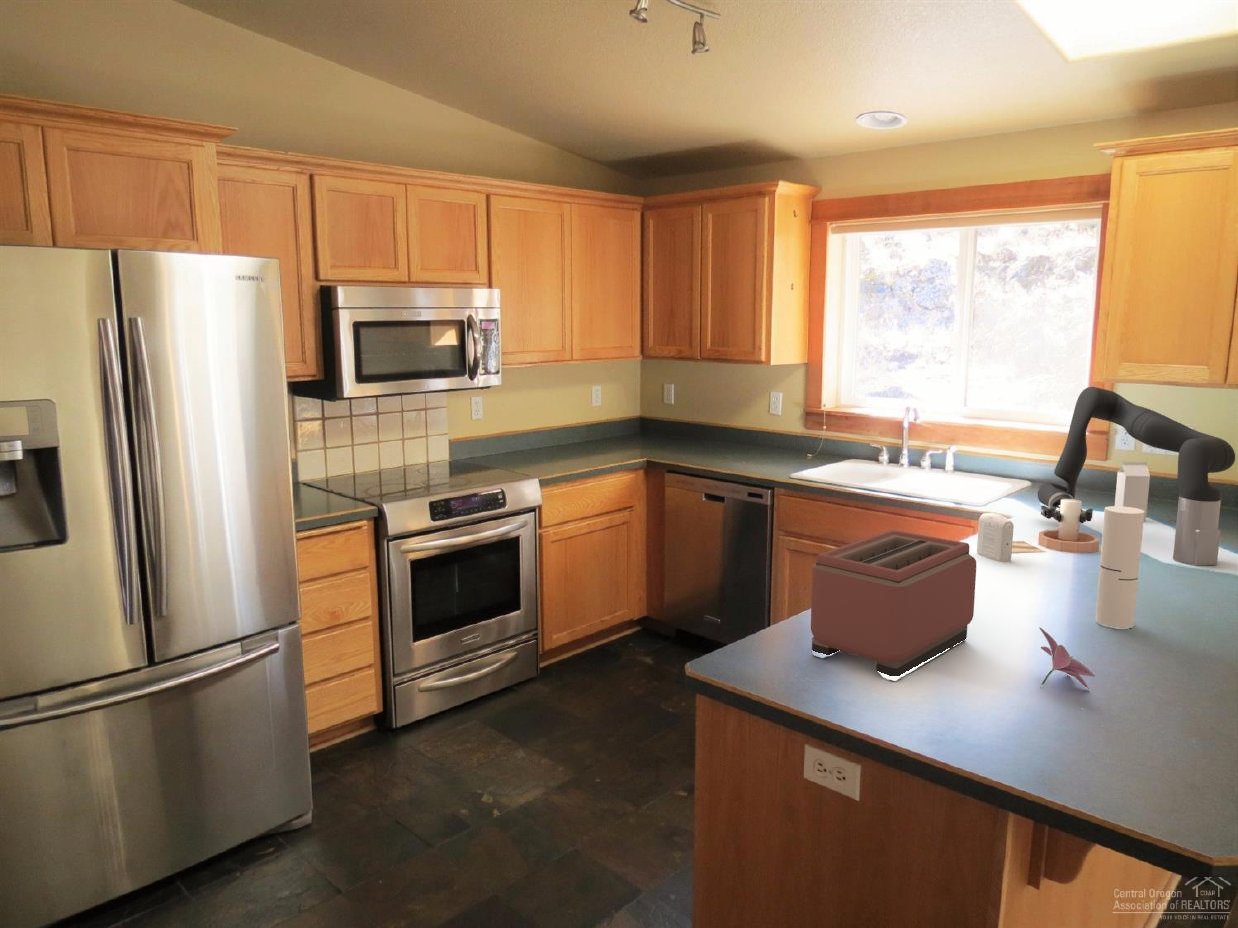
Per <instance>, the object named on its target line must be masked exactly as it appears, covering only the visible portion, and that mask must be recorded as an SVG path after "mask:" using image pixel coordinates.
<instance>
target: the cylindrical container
mask: <svg viewBox="0 0 1238 928" xmlns="http://www.w3.org/2000/svg"><path fill="white" fill-rule="evenodd" d="M1144 522H1145V521H1144V511H1143V510H1141V509H1137V508H1132V507H1123V506H1115V505H1113V506H1112V505H1111V506H1105V507H1104V512H1103V525H1102V535H1101V536H1102V537H1101V547H1100V548H1101V549H1100V559H1099V573H1098V585H1097V596H1096V605H1095V606H1096V607H1095V608H1096V609H1095V618H1094V619H1096V621H1097V622H1098V623H1101V624H1105V625H1107V626H1112V627H1120V628H1127V627H1132V626H1133V625H1134V626H1135V616H1136V603H1137V594H1138V584H1139V583H1138V582H1139V573H1140V563H1141V562H1140V561H1141V552H1142V541H1143V531H1144V530H1143V529H1144Z"/></svg>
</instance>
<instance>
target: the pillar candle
mask: <svg viewBox="0 0 1238 928" xmlns="http://www.w3.org/2000/svg"><path fill="white" fill-rule="evenodd" d="M1081 509H1082V500H1079V499H1076V498H1075V499H1061V505H1060V513H1061V522H1058V530H1059V531H1058V538H1060V539H1063V540H1078V538H1079V532H1080V524H1081V523H1080V514H1081Z"/></svg>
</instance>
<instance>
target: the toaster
mask: <svg viewBox="0 0 1238 928" xmlns="http://www.w3.org/2000/svg"><path fill="white" fill-rule="evenodd" d="M811 567H812V569H811V570H812V571H811V601H810V602H811V605H810V608H811V609H810V631H811V633H812V636H813V637H812V638H811V651H812V650H813V651H815V652H818V653H823V654H826V655H830V654H832V653H835V652H837V651H839V650H840V652H844V653H846V654H851V655H854V656H857V657H860V658H863V659H867V660H870V661H873V662H875V671H876V672H877V671H879V672H881V673H884V674H887V675H889V676H900V675H901V674H903V673H905V672H906V671H909V670H910V669H912V668H913V667H916V666H918V665H919V664H921V663H922V662H925V661H927V660H928V659H930V658H932V657H934V656H936V655H937V654H939V653H942V652H943V651H945V650H946V649H948V648H951V647H953V646H954V645H956V644H957V643H960V642H961V641H963V640H965V639H966V638H968V625H969V624H971V622H972V621H973V618H974V613H975V597H976V596H975V595H976V583H977V582H976V580H977V578H976V577H977V560H976V558H975V557H974V556H972V555H971V554H970V544H969V543H968V542H963V541H957V540H952V539H947V538H941V537H935V536H930V535H924V534H920V533H914V532H908V531H902V530H897V529H889V530H887V531H883V532H880V533H878V534H874V535H871V536H869V537H865V538H863V539H860V540H858V541H855V542H851V543H848V544H845V545H842V546H840V547H837V548H834V549H830V550H827V551H825V552H822V553H819V554H817V555H816V562H815V563H814V564H812V566H811ZM966 640H967V639H966ZM966 640H965V641H966Z"/></svg>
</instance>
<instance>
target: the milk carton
mask: <svg viewBox="0 0 1238 928" xmlns="http://www.w3.org/2000/svg"><path fill="white" fill-rule="evenodd" d="M1150 479H1151V475H1150V471H1149V468H1148V461H1122V463H1121V466H1120V467H1119V469H1118V470H1117V474H1116V487H1115V488H1116V489H1115V497H1114V499H1115V500H1114V506H1123V507H1132V508H1137V509H1141V510H1143V511H1144V521H1143V522H1146V521H1147V513H1148V501H1149V492H1150V490H1149V489H1150Z"/></svg>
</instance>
